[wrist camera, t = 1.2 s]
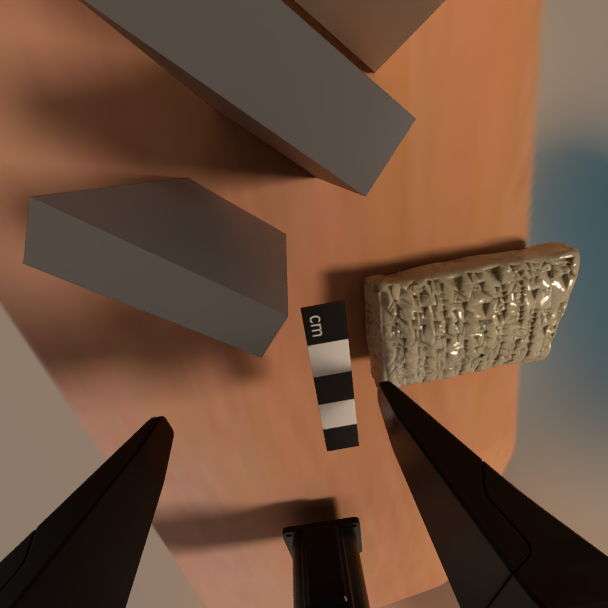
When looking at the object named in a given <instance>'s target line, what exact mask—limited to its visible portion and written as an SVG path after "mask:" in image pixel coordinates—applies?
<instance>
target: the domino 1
mask: <svg viewBox="0 0 608 608" xmlns="http://www.w3.org/2000/svg"><path fill="white" fill-rule="evenodd" d="M80 1H81V2H82V3H83V4H85V5H86V6H87V7H88V8H90V9H91V10H92V11H93V12H95V13H96V14H97V15H98V16H100V17H101V18H102V19H103V20H105V21H106V22H107V23H108V24H110V25H111V26H112V27H113V28H115V29H116V30H117V31H118V32H119V33H121V34H122V35H123V36H124V37H126V38H127V39H128V40H129V41H131V42H132V43H133V44H134V45H136V46H137V47H138V48H139V49H141V50H142V51H143V52H144V53H146V54H147V55H148V56H149V57H151V58H152V59H153V60H154V61H155V62H157V63H158V64H159V65H160V66H162V67H163V68H164V69H165V70H167V71H168V72H169V73H170V74H172V75H173V76H174V77H175V78H177V79H178V80H179V81H180V82H182V83H183V84H184V85H185V86H187V87H188V88H189V89H190V90H191V91H193V92H194V93H195V94H196V95H198V96H199V97H200V98H201V99H203V100H204V101H205V102H206V103H208V104H209V105H210V106H211V107H213V108H214V109H216V110H217V111H219V112H220V113H222V114H223V115H225V116H226V117H228V118H229V119H231V120H232V121H233V122H235V123H236V124H238V125H239V126H241V127H242V128H244V129H245V130H247V131H248V132H250V133H251V134H253V135H254V136H256V137H257V138H259V139H260V140H262V141H263V142H265V143H266V144H268V145H269V146H271V147H272V148H273V149H275V150H276V151H278V152H279V153H281V154H282V155H284V156H285V157H287V158H288V159H290V160H291V161H293V162H294V163H296V164H297V165H299V166H300V167H302V168H303V169H305V170H306V171H308V172H309V173H310V174H312V175H313V176H315V177H316V178H319V179H321V180H324V181H326V182H329V183H332V184H334V185H337V186H339V187H342V188H345V189H347V190H350V191H352V192H355V193H358V194H360V195H363V196H366V195H367V193H368V192H369V190H370V189H371V187H372V186H373V184H374V183H375V181H376V179H377V178H378V176H379V175H380V173H381V172H382V170H383V169H384V167H385V166H386V164H387V162H388V161H389V159H390V158H391V156H392V155H393V153H394V152H395V150H396V149H397V147H398V145H399V144H400V142H401V141H402V139H403V138H404V136H405V135H406V133H407V132H408V130H409V128H410V127H411V125H412V124H413V122H414V121H415V119H416V118H414V117H413V116H412V115H411V114H410V113H409V112H408V111H407V110H405V109H404V108H403V107H402V106H401V105H400V104H399V103H397V102H396V101H395V100H394V99H393V98H392V97H391V96H389V95H388V94H387V93H386V92H385V91H384V90H383V89H381V88H380V87H379V86H378V85H377V84H376V83H375V82H374V81H372V80H371V79H370V78H369V77H368V76H367V75H366V74H364V73H363V72H362V71H361V70H360V69H359V68H358V67H356V66H355V65H354V64H353V63H352V62H351V61H350V60H349V59H347V58H346V57H345V56H344V55H343V54H342V53H341V52H339V51H338V50H337V49H336V48H335V47H334V46H333V45H331V44H330V43H329V42H328V41H327V40H326V39H325V38H323V37H322V36H321V35H320V34H319V33H318V32H317V31H316V30H314V29H313V28H312V27H311V26H310V25H309V24H308V23H306V22H305V21H304V20H303V19H302V18H301V17H300V16H298V15H297V14H296V13H295V12H294V11H293V10H292V9H291V8H289V7H288V6H287V5H286V4H285V3H284V2H283V1H281V0H80Z"/></svg>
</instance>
